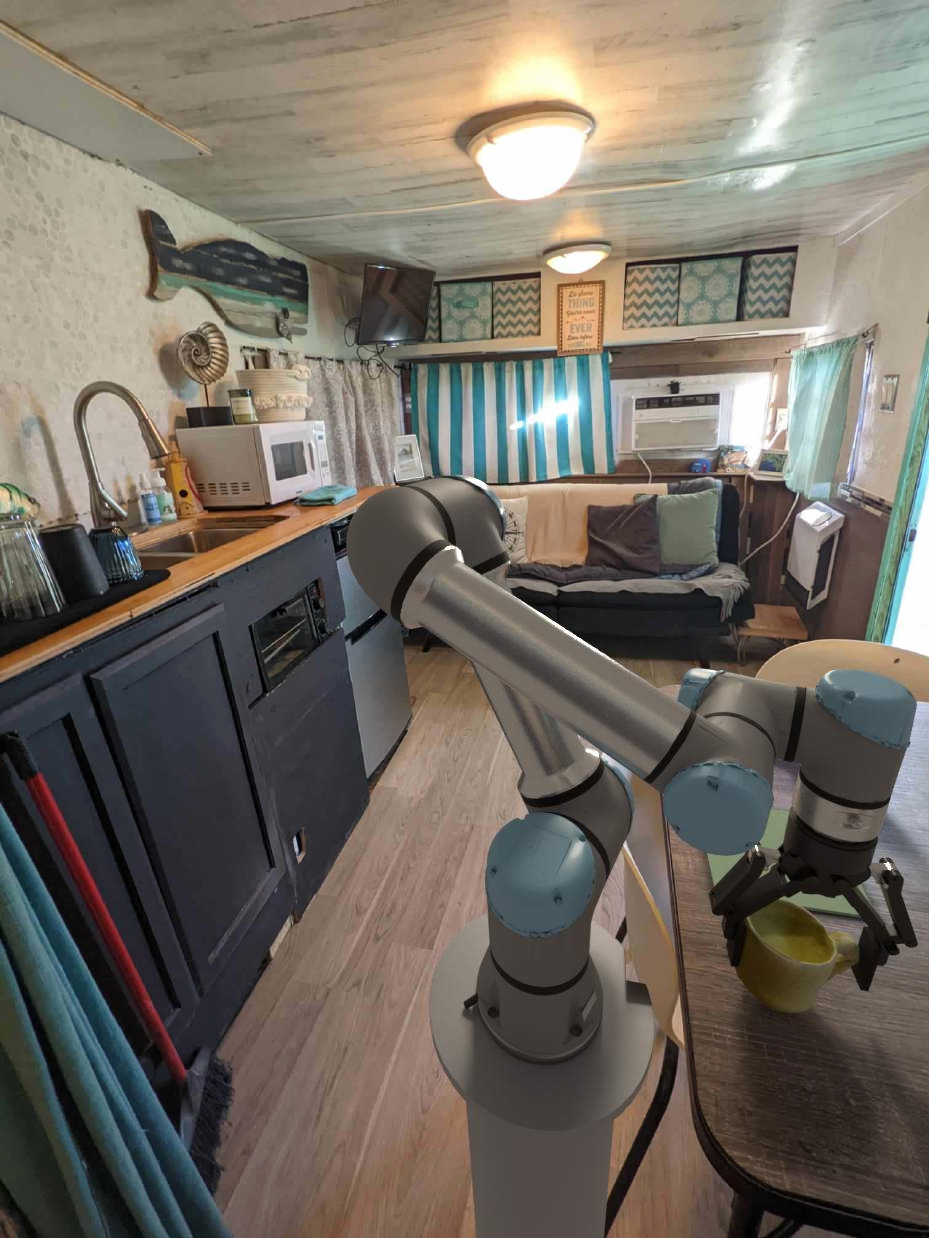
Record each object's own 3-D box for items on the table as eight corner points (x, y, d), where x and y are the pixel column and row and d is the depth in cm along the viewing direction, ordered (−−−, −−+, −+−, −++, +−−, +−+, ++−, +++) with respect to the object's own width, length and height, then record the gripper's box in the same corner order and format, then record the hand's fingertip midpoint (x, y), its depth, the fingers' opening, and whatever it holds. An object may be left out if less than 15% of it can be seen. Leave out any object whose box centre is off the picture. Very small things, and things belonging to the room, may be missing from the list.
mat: (715, 896, 77) (716, 893, 77) (694, 802, 95) (695, 800, 95) (877, 920, 72) (878, 917, 72) (823, 817, 90) (824, 814, 90)
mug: (731, 1007, 59) (760, 924, 58) (715, 947, 69) (739, 875, 67) (857, 1060, 56) (890, 974, 55) (821, 989, 66) (848, 915, 64)
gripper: (708, 827, 54) (684, 976, 62) (1005, 867, 48) (937, 1025, 56) (697, 780, 61) (676, 919, 69) (956, 810, 55) (901, 958, 63)
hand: (793, 967), depth 62 cm, fingers closed on mug, 12 cm apart
